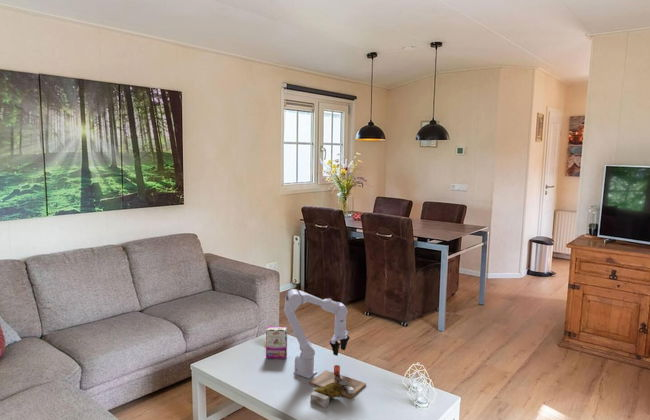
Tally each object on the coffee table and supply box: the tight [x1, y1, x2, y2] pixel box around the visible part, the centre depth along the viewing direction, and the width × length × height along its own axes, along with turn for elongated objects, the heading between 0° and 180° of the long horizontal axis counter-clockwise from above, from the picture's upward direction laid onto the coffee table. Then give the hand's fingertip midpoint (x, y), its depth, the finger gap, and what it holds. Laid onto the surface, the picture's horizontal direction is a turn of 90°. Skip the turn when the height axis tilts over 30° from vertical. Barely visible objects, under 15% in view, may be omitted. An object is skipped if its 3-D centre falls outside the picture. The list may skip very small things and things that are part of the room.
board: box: [308, 370, 367, 409], centre depth 217 cm, size 23×28×4 cm
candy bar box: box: [265, 326, 288, 360], centre depth 250 cm, size 11×5×16 cm, turn 88°
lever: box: [333, 364, 354, 394], centre depth 220 cm, size 19×4×5 cm, turn 21°
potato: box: [314, 382, 343, 399], centre depth 210 cm, size 8×13×8 cm, turn 61°
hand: (339, 352), depth 236 cm, fingers open, 7 cm apart
